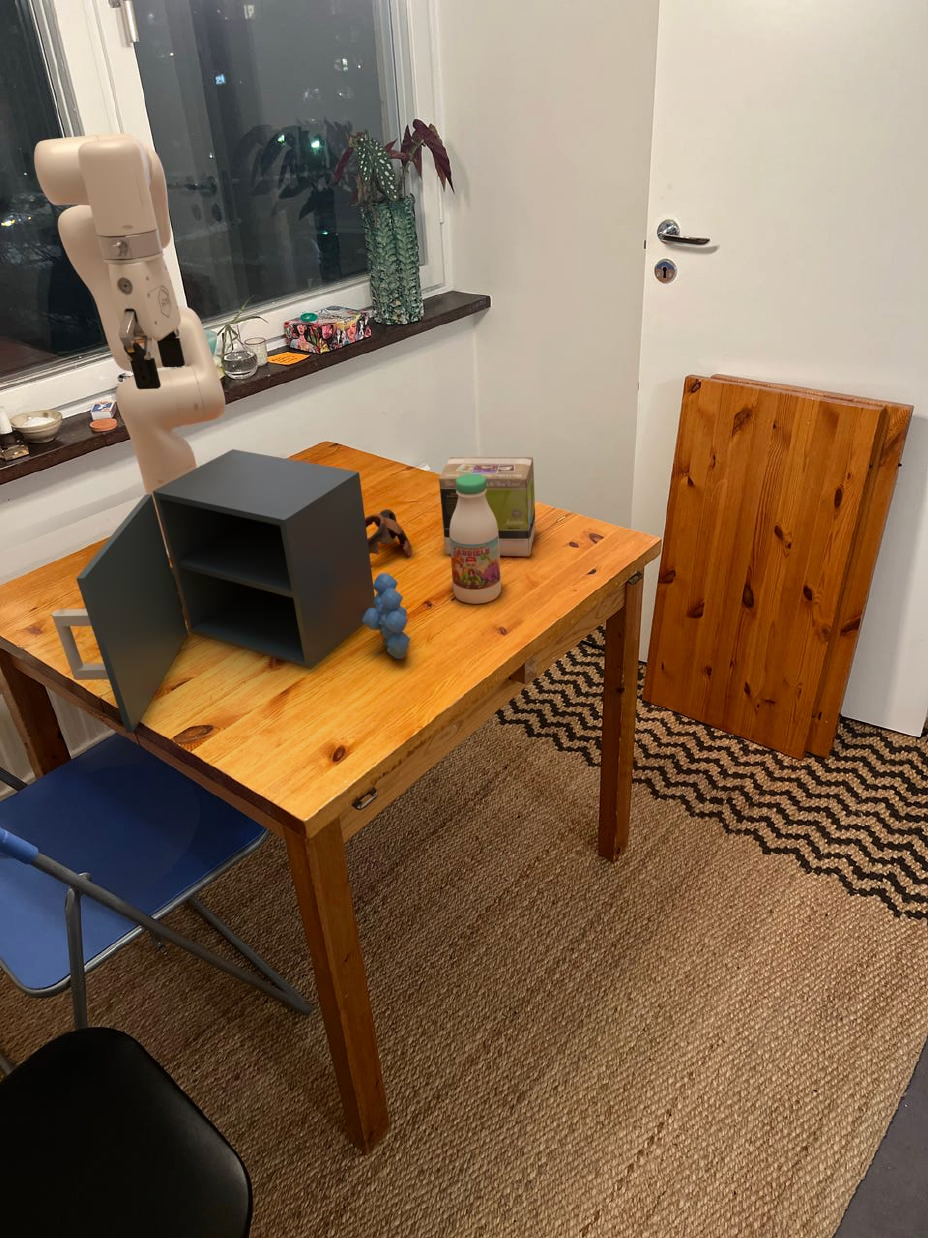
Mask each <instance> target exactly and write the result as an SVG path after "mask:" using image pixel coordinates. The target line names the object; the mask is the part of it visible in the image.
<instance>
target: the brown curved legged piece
mask: <svg viewBox="0 0 928 1238" xmlns="http://www.w3.org/2000/svg"><path fill="white" fill-rule="evenodd" d="M365 522H366V529H367V528H368V527H369V526H371V525H372V524H373V523H374V525H375V526H376V527H377V530H376V531H375V532H374V533H373V534H372V535H371V536H370V537H367V538H368V546H369V554H370V555H371V554H375V555H380V552H379V544H382V545H383V544H392V543H394V541H395V540H394V539H395V538H396V537H397V539H398V543H399V545H401V546H402V550H403V552H405V554H406V557H407V558H410V557H411V554H412V551H413V549H412V546H411V544H410V541H409V538H408V536H407V534H406V532H405V531H404V529H403V527H402V526H401V525H400V524H399V523H398V521H397V517H396V514H395V513H394V512H393V510H391V509H388V508H385V509H384V510H381V511H380V512H379V513H374V514H370V515H368V516H365Z"/></svg>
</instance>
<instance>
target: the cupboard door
mask: <svg viewBox="0 0 928 1238" xmlns="http://www.w3.org/2000/svg"><path fill="white" fill-rule="evenodd" d="M171 567H172V565H171V561H170V558H168V554H167V551H166V547H165V543H164V539H163V535H162V531H161V527H160V524H159V520H158V516H157V512H156V508H155V504H154V500H153V497H152V494H146V493H145V494H144V495H143V496H142V498H140V500H139V502H137V504H136V505H135V506H134V507H133V509H132V510H131V511H130V512H129V514H128V515H127V516H126V517H125V518H124V520H123V521H122V522H121V523H120V524H119V525H118V527H117V528H116V529H115V530H114V532H113V533H112V534H111V536H110V537H109V538H107V540H106V541H105V542H104V544H103V545H102V546H101V547H100V548H99V550H98V551H97V552H96V553H95V555H94V556H93V557H92V558H91V559H90V561H89V562H88V563H87V564H86V566H85V567H84V568H83V569H82V571H81V572H80V573H79V574H78V576H77V577H76V578H75V579H76V582H77V586H78V589H79V591H80V595H81V598H82V601H83V604H84V607H85V608H67V609H64V608H63V609H56V610H54V611H52V613H51V617H52V619H53V623H54V625H55V628H56V632H57V634H58V637H59V640H60V642H61V647H62V648H63V651H64V654H65V657H66V660H67V662H68V663H67V664H68V666H69V668H70V672H71V674H72V677H73V679H74V680H75V681H95V680H96V681H98V680H101V681H102V680H108V681H109V684H110V688H111V690H112V693H113V696H114V700H115V702H116V706H117V708H118V712H119V715H120V718H121V721H122V724H123V727H124V730H125V733H126V734H133V733H134V732H135V731H136V729H137V727H138V725H139V723H140V722H141V721H142V718H143V717H144V714H145V713H146V711H147V709H148V707H149V706H150V704H151V702H152V700H153V699H154V696H155V695H156V693H157V691H158V689H159V688H160V686H161V684H162V682H163V680H164V678H165V677H166V676H167V673H168V671H169V670H170V668H171V666H172V665H173V663H174V661H175V659H176V657H177V655H178V654H179V652H180V650H181V648H182V647H183V645H184V643H185V641H186V639H187V637H188V636H189V630H188V627H187V623H186V619H185V615H184V611H183V608H181V604H180V601H179V597H178V593H179V592H178V593H177V589H176V585H175V581H174V578H173V574H172V570H171ZM71 627H91V629H92V631H93V635H94V638H95V641H96V644H97V647H98V651H99V654H100V657H101V660H102V662H88V663H86V662H85V663H84V662H83V660H82V657H81V654H80V652H79V651H80V650H79V649H78V645H77V643H76V639H75V637H74V634H73V631H72V628H71Z"/></svg>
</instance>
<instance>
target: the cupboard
mask: <svg viewBox="0 0 928 1238" xmlns="http://www.w3.org/2000/svg"><path fill="white" fill-rule="evenodd" d="M153 495H154V499H155V503H156V506H157V510H158V514H159V518H160V522H161V526H162V530H163V534H164V537H165V541H166V545H167V549H168V553H169V557H170V558H169V562H170V565H171V567H172V568H173V572H174V576H175V580H176V584H177V588H178V593H179V595H180V599H181V603H182V607H183V608H182V612H183V616H184V620H185V624H186V627H187V631H188V633H190V634H193V635H196V636H199V637H203V638H207V639H210V640H213V641H216V642H219V643H223V644H226V645H229V646H233V647H236V648H238V649H242V650H245V651H248V652H252V653H255V654H258V655H262V656H266V657H268V658H271V659H276V660H278V661H282V662H285V663H288V664H292V665H294V666H298V667H302V668H305V669H308V670H313V669H314V668H315V667H316V666H317V665H318V664H320V663H321V662H322V661H323V660H324V659H326V658H327V657H328V656H329V655H330V654H331V653H332V652H334V651H335V650H336V649H337V648H339V646H341V645H342V644H343V643H344V642H345V641H346V640H348V638H350V637H351V636H352V635H353V634H354V633H356V632H357V631H358V630H359V629H360V628H361V627H362V626H364V625H365V624H364V623H363V622H362V620H363V617H364V615H365V613H366V611H367V610H368V609H369V608H375V607H376V605H375V604H374V598H375V596H376V594H375V589H374V588H373V584H374V578H373V571H372V570H373V569H372V562H371V556H370V555H371V553H370V554H369V546H368V538H369V537H368V531H367V528H366V522H365V518H366V515H365V507H364V500H363V492H362V483H361V475H360V471H356V470H352V469H351V470H350V469H345V468H339V467H335V466H329V465H322V464H317V463H312V462H306V461H300V460H295V459H291V458H283V457H278V456H273V455H267V454H261V453H256V452H250V451H245V450H240V449H234V448H232V449H231V450H229V451H227V452H225V453H223V454H221V455H219V456H217V457H215V458H212V460H210V461H207V462H205V463H204V464H202V465H200V466H197V468H196V469H194V470H192V471H190V472H188V473H186V474H185V475H183V476H181V477H179V478H177V479H175V480H173V481H171V482H169V483H167V484H165V485H163V486H162V487H160V488H158V489H156V490H154V491H153Z"/></svg>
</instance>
